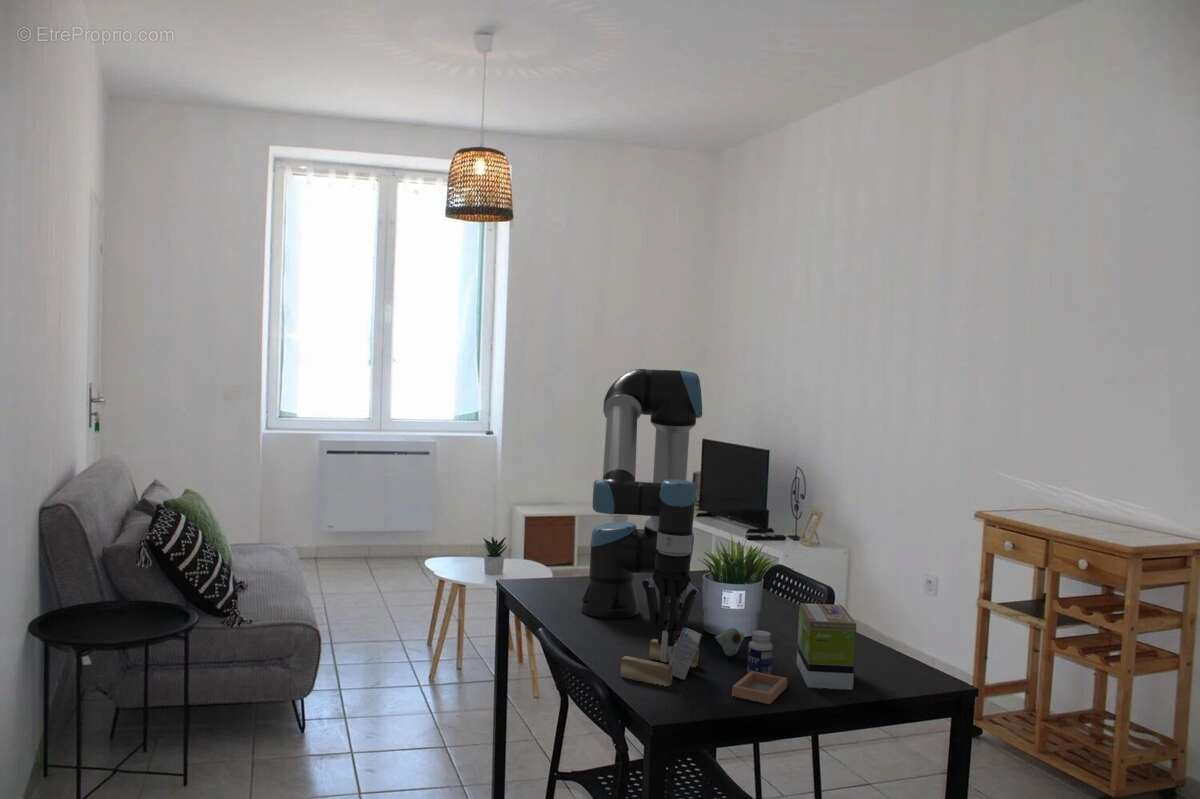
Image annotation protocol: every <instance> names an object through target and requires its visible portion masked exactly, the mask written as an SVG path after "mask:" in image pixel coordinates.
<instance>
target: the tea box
mask: <svg viewBox="0 0 1200 799" xmlns="http://www.w3.org/2000/svg"><path fill="white" fill-rule="evenodd" d="M798 607H799V611H798V624H797V625H798V626H797V628H798V629H797V630H798V632H797V649H796V650H797V651H796V652H797V653H796V666H797V668H798V669H799V671H800V674H801V677H802V678H803V680H804V683H805V685H806V686H807V688H809V689H810V688H811V689H823V688H826V689H827V688H828V690H844V689H845V690H846V691H847V690H849V691H850V690H853V688H854V680H855V679H854V678H855V677H854V675H855V658H856V657H855V656H856V638H857V623H856V621H855V620H854V618H852V616H851V615H850V613H848V611H847V610H846V609H845V608H846V607H844V606H843V605H842V604H828V603H826V604H824V603H823V604H821V603H802V602H799V606H798ZM826 689H825V690H826Z"/></svg>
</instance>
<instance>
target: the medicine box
mask: <svg viewBox="0 0 1200 799" xmlns="http://www.w3.org/2000/svg"><path fill="white" fill-rule="evenodd" d="M702 636H703V634H701V633H700V632H697V631H695V630H693V629H690V628H688V627H685V628H684V629H683V630H682V632H681V635H680V637H679V639H678V642H677V644H676V647H675V649H674V652H673V654H672V657H671V659H670V662H669V663H668V665H673V674H672V677H674V678H675V677H676V678H677V679H680V680H682V679H683V680H682V681H684V680H686V678H687V675H688V672H689V669H690V668H691V667H690V665H691V663H692V661H693V658H694V656H695V653H696V651H697V648H699V646H700V642H701V639H702Z"/></svg>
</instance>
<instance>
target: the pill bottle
mask: <svg viewBox="0 0 1200 799" xmlns="http://www.w3.org/2000/svg"><path fill="white" fill-rule="evenodd" d="M771 638H772V637H771V632H769V631H767V630H754V631H752V634H751V639H752V640H750V641H749V643H748V649H747V650H748V651H747V664H746V671H747V673H749V672H750V671H754V672H760V673H765V674H770V675H772V667H773V666H772V665H773V664H772V663H773V651H774V649H773V647H774V646H773V644H772V643H771V642H770V641H771Z"/></svg>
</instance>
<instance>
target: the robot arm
mask: <svg viewBox="0 0 1200 799" xmlns="http://www.w3.org/2000/svg"><path fill="white" fill-rule="evenodd" d="M602 409H603V410H602V411H603V414H604V416H605V419H606V422H605V423H606V426H605V439H604V441H605V442H604V454H603V466H602V467H603V468H602V469H603V470H602V478H601V479H596V480H594V481H593V490H592V510H593V511H594V512H595V513H598V514H600V513H601V514H606V515H607V514H608V515H627V516H629V515H630V516H641V517H642V516H645V517H646V516H647V517H650V518H648V519H647V520H646V521H645V522H644V527H643V528H638V527H637V524H636V523H635V522H630V521H629V522H628V521H616V522H613V521H612V522H607V523H602V524H600V525H599V524H598V525H597V526H595V527H594V528H593V529H592V531H591V540H590V543H589V546H590V558H589V572H588V573H589V574H588V575H589V576H588V577H589V579H588V583H587V586H586V589H585V591H584V593H583V596H582V599H581V601H580V602H581V603H580V611H581V613H583V614H585V615H588V616H591V617H595V618H601V619H610V620H611V619H613V620H617V619H618V620H619V619H628V618H632V617H636V616H637V615H638V614H639V602H638V598H637V597H638V596H637V594H636V589H635V586H634V575H636V574H637V575H652V576H651V577H649V578H646V579H644V580H642V582H641V584H642V586H643V588H644V591H645V596H646V600H647V607H648V615H649V620H650V624H651V625H650V626H653V627H656V628H657V630H658V634H657V636H658V637H657V640H658V644H661V658H660V662H662V663H663V662H664V663H667V662H666V661H668V660H670V657H671V647H672V646H674V645H675V643H676V632H677V631H680V630H682V629H684V628H686V627H687V623H688V620H689V617H690V614H691V612H692V609H693V605H694V603H695V599H696V598H697V596H698V595H699V594H700V592H701V589H700V588H699V587H695V585H694V584H692V583H691V582H692V580H691V576H690V570H691V561H692V556H693V552H694V542H695V534H694V532H693V527H694V525H693V524H694V517H695V516H694V515H695V503H696V498H697V497H696V485H695V483H694V482H693V481H690V480H687V474H688V473H687V472H688V471H687V470H688V458H689V444H690V431H691V429H692V428H694V427H695V426H696V425H697V422H696V421H697V419H701V418H702V417H703V399H702V386H701V381H700V377H699V375H698V373H696V372H693V371H687V370H681V369H680V370H679V369H678V370H677V369H674V370H672V369H646V368H636V369H633V370H630V371H627V372H625V373H624V374H623V375H621V376H619V377H618V378H616V380H615V381H614V382H613V383H612V385H610V387H609V389H608V390H607V392H606V394H605V395H604V399H603V408H602ZM641 415H644V416H645V415H646V416H650V424H652V425H653V427H654V428H655V442H654V458H653V460H654V461H653V474H652V477H653V478H652V481H651V482H648V481H636V470H637V468H636V466H637V442H638V441H637V440H638V438H637V437H638V420H639V419H640V417H641ZM656 588H657V589H658V591H659V592H658V593H659V595H658V597H657V591H656ZM685 591H686V597H685V599H684V601H683V604H682V611H681V614H680V617H679V605H680V600H681V598H682V594H683V593H684V592H685ZM658 598H659V603H658ZM669 599H670V613H669V625H668V612H669ZM678 617H679V620H678ZM667 627H668V629H666V628H667Z"/></svg>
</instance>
